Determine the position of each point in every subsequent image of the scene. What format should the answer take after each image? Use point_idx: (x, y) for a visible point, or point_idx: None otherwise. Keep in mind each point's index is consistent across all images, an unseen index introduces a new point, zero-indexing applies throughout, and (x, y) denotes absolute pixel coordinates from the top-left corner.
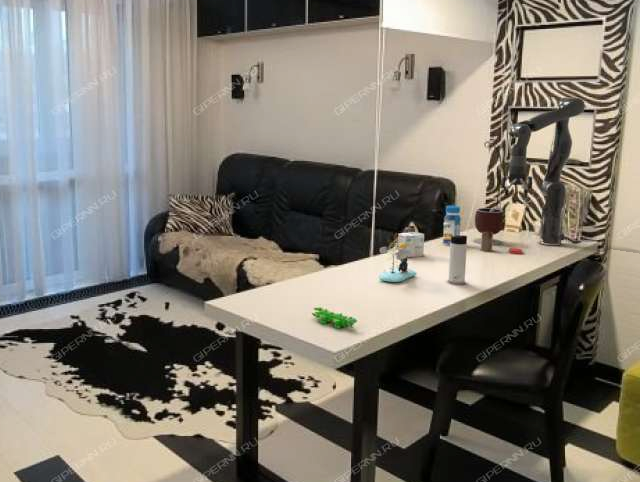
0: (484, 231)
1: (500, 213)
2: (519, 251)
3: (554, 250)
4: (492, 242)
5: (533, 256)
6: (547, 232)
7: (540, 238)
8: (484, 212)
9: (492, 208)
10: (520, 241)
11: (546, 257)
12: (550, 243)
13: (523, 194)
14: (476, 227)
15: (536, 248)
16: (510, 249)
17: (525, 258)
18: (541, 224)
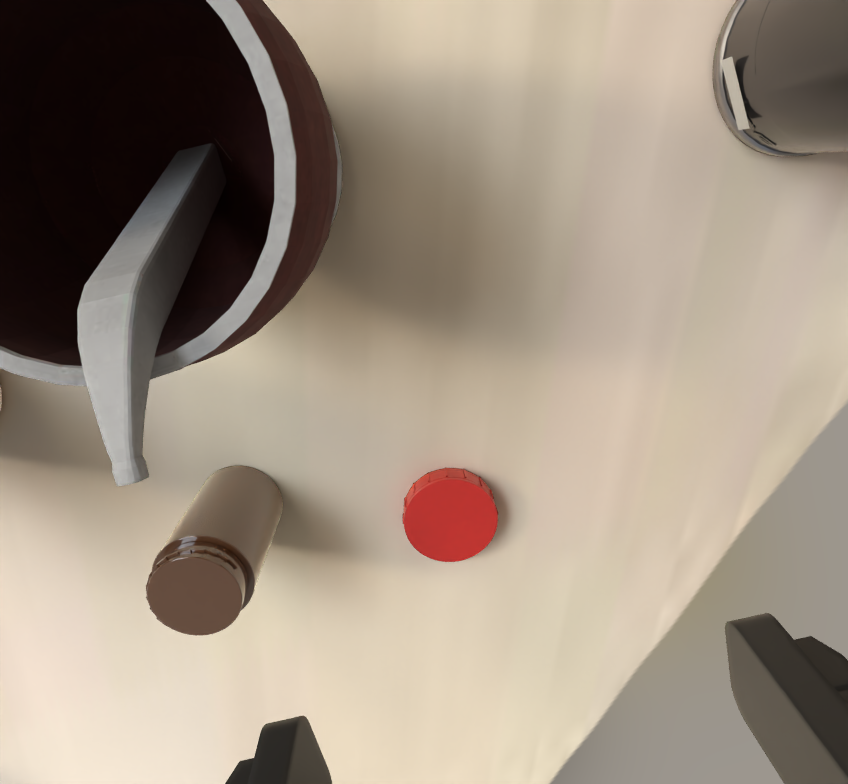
0: (163, 590)
1: (266, 297)
2: (474, 552)
3: (760, 339)
4: (268, 550)
5: (558, 576)
6: (835, 140)
7: (740, 71)
8: (11, 362)
9: (103, 429)
10: (540, 24)
11: (639, 576)
12: (795, 153)
13: (757, 662)
14: (37, 224)
15: (632, 310)
16: (412, 536)
17: (498, 642)
18: (846, 33)
